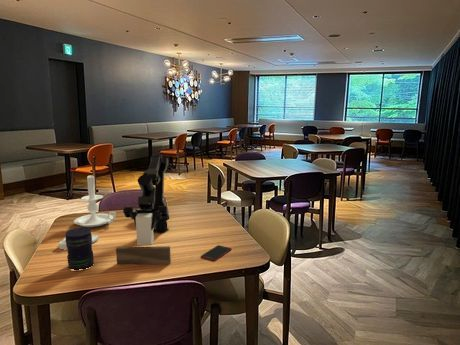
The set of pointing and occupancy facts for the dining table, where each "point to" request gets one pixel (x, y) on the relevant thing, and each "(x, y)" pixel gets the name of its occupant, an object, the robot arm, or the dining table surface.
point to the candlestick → (93, 208)
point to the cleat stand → (143, 255)
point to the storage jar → (79, 248)
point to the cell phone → (216, 253)
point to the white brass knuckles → (63, 243)
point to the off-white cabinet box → (144, 229)
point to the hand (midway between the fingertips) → (144, 229)
